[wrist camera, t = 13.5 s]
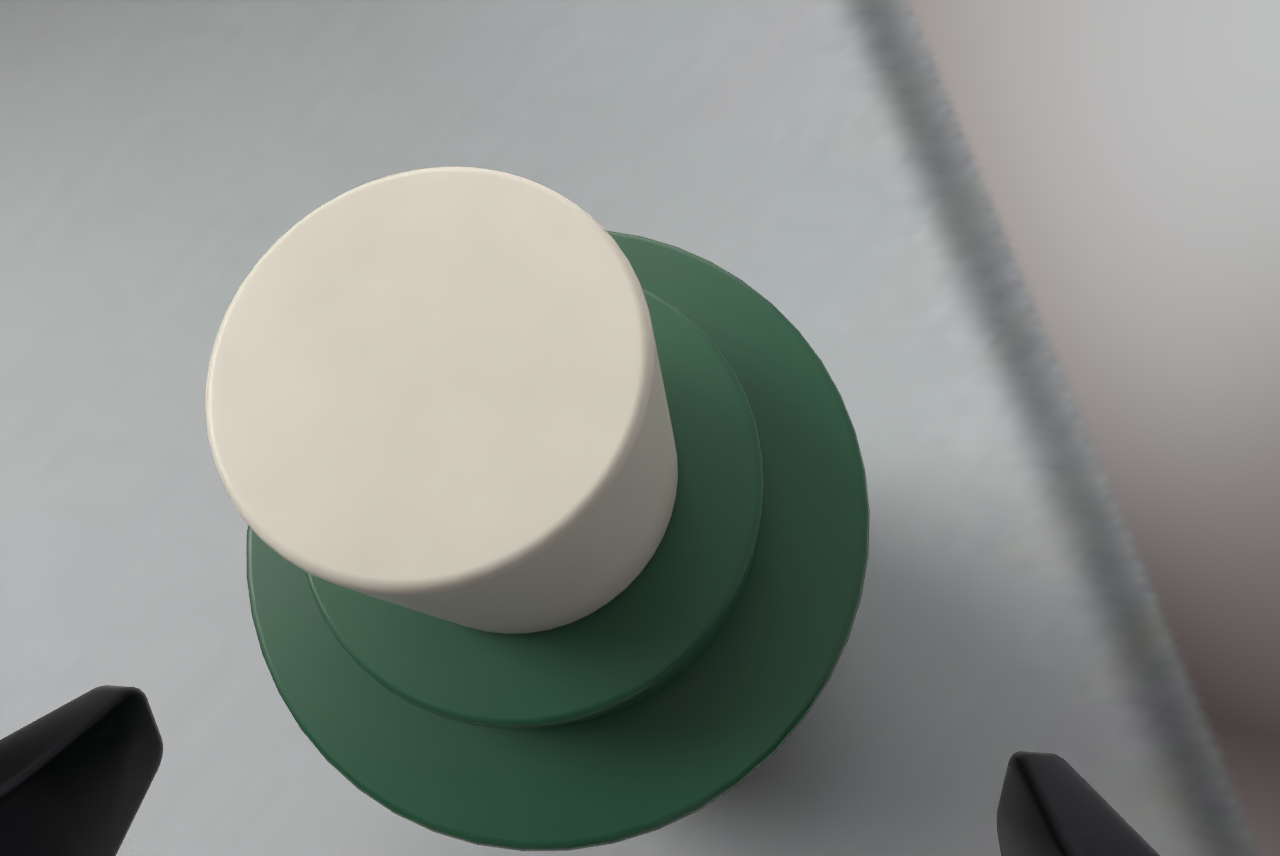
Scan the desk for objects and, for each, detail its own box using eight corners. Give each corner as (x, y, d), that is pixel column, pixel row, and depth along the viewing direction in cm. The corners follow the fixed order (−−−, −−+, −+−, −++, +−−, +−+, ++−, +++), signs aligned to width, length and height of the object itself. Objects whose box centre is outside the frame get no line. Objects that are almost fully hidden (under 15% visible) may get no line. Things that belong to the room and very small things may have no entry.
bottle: (827, 766, 14) (1113, 922, 4) (469, 797, 14) (-198, 1019, 4) (777, 422, 16) (870, -118, 6) (462, 457, 16) (-1, 13, 6)
